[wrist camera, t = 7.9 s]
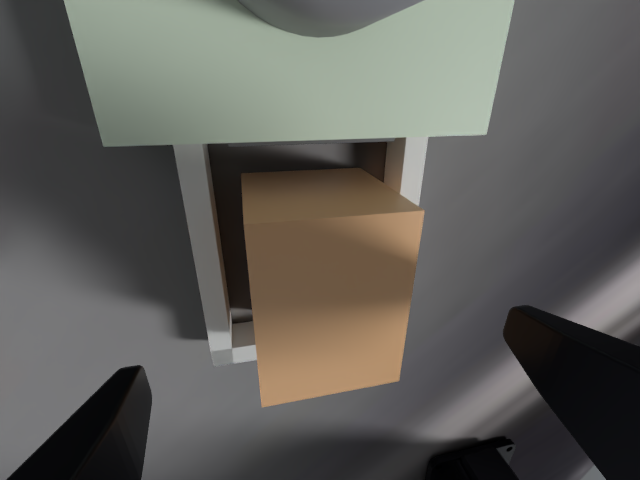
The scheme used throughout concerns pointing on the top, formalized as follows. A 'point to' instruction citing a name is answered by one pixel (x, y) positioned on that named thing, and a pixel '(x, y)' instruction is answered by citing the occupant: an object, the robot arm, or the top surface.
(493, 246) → the top surface
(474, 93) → the pale green framed piece
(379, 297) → the tan parcel box
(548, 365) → the robot arm
